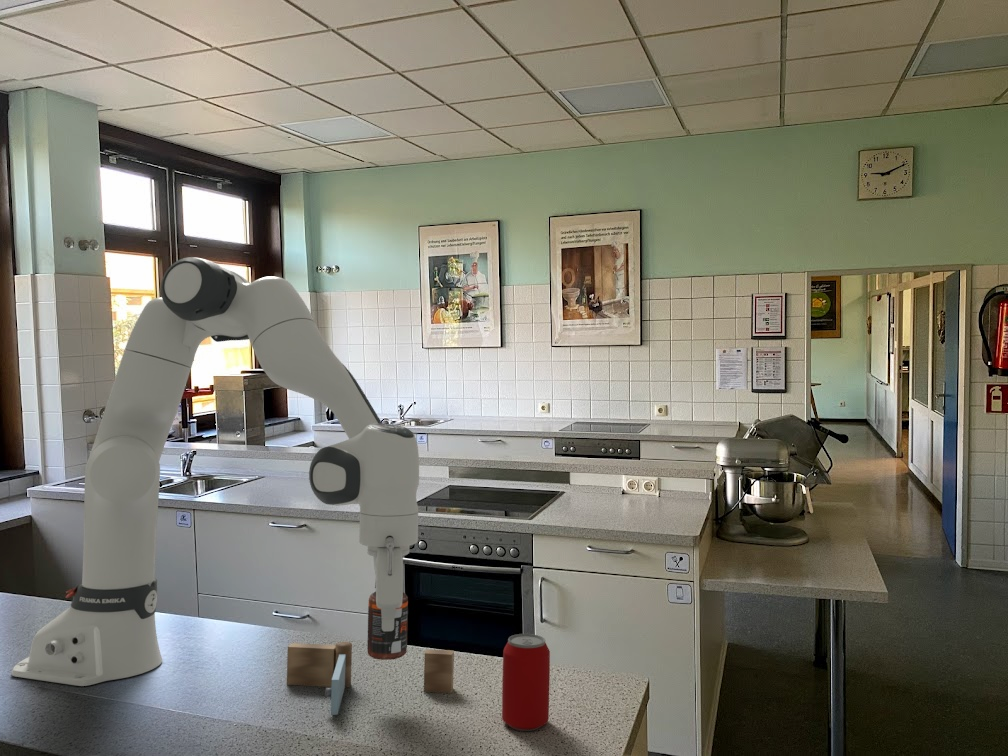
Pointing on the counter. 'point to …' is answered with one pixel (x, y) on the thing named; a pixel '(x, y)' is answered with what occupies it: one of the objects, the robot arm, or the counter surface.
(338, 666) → the door
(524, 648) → the beverage can
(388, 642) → the supplement bottle
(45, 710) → the counter surface
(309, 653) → the door frame
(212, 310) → the robot arm
